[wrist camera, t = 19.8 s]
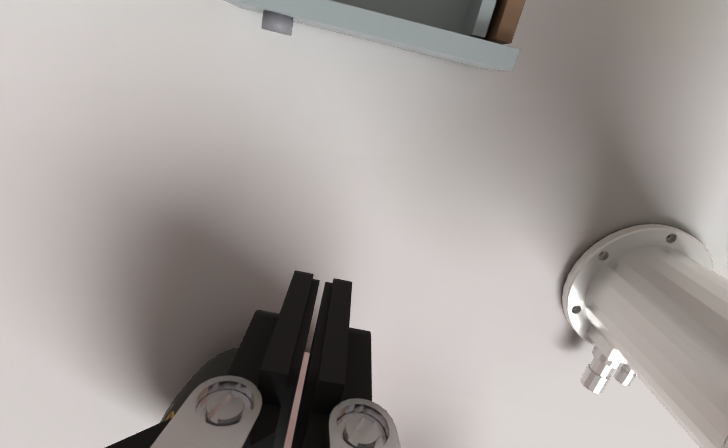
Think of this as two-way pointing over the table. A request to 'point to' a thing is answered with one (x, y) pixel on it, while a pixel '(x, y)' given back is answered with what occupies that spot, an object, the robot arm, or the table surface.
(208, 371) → the packaged food
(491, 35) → the frame
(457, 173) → the table surface
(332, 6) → the tray
